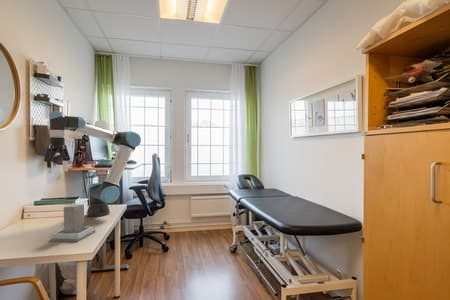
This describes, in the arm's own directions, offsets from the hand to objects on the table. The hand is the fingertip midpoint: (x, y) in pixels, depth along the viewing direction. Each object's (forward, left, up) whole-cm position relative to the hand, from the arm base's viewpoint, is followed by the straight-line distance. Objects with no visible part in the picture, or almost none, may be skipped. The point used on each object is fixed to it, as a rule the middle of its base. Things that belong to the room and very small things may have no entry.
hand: (58, 172), depth 157 cm
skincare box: (+15, +21, -33) cm, 42 cm away
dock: (+16, +21, -34) cm, 43 cm away
